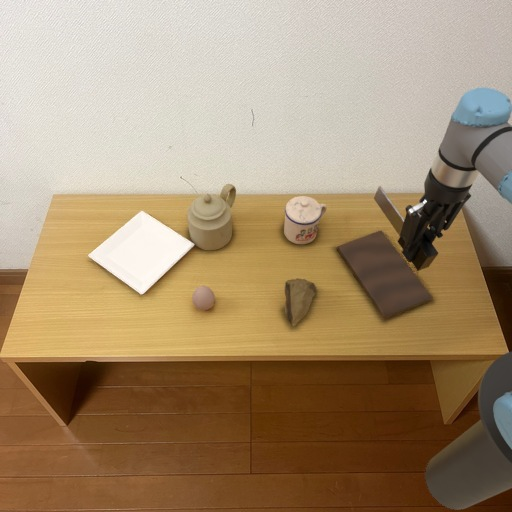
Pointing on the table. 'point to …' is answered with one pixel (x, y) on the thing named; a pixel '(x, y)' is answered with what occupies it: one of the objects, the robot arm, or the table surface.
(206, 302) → the egg
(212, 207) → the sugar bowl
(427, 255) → the knife
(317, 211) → the teacup with lid
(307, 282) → the rock
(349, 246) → the cutting board
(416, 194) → the table surface
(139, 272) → the plate
